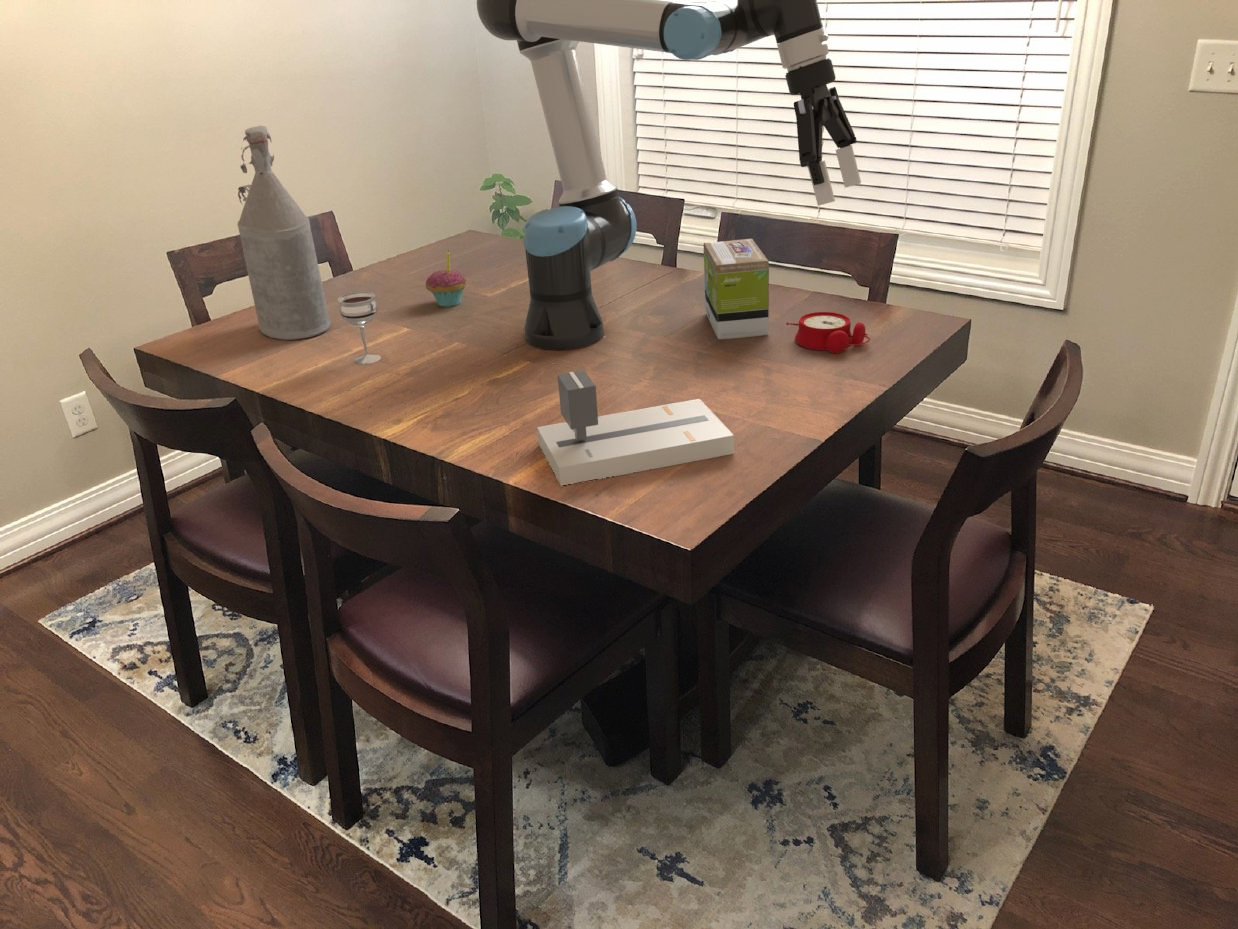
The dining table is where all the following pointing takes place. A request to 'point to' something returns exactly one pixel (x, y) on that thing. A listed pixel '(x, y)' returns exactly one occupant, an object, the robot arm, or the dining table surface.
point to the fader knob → (578, 402)
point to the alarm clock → (828, 332)
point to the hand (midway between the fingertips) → (840, 194)
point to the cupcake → (446, 285)
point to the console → (636, 442)
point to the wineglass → (360, 317)
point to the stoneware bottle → (279, 252)
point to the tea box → (736, 288)
